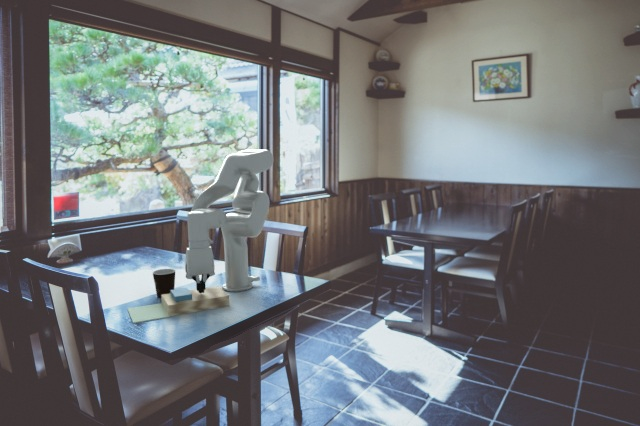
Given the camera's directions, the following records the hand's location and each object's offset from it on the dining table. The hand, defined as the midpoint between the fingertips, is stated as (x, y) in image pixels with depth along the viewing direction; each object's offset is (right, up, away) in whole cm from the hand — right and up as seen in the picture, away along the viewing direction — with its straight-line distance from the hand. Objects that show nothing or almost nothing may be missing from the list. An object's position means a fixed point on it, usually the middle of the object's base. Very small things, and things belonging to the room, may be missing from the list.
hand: (201, 292), depth 183 cm
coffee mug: (-17, -3, +13) cm, 22 cm away
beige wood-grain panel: (-2, -5, 0) cm, 5 cm away
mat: (-17, -6, -8) cm, 20 cm away
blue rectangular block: (-7, -1, -3) cm, 7 cm away
